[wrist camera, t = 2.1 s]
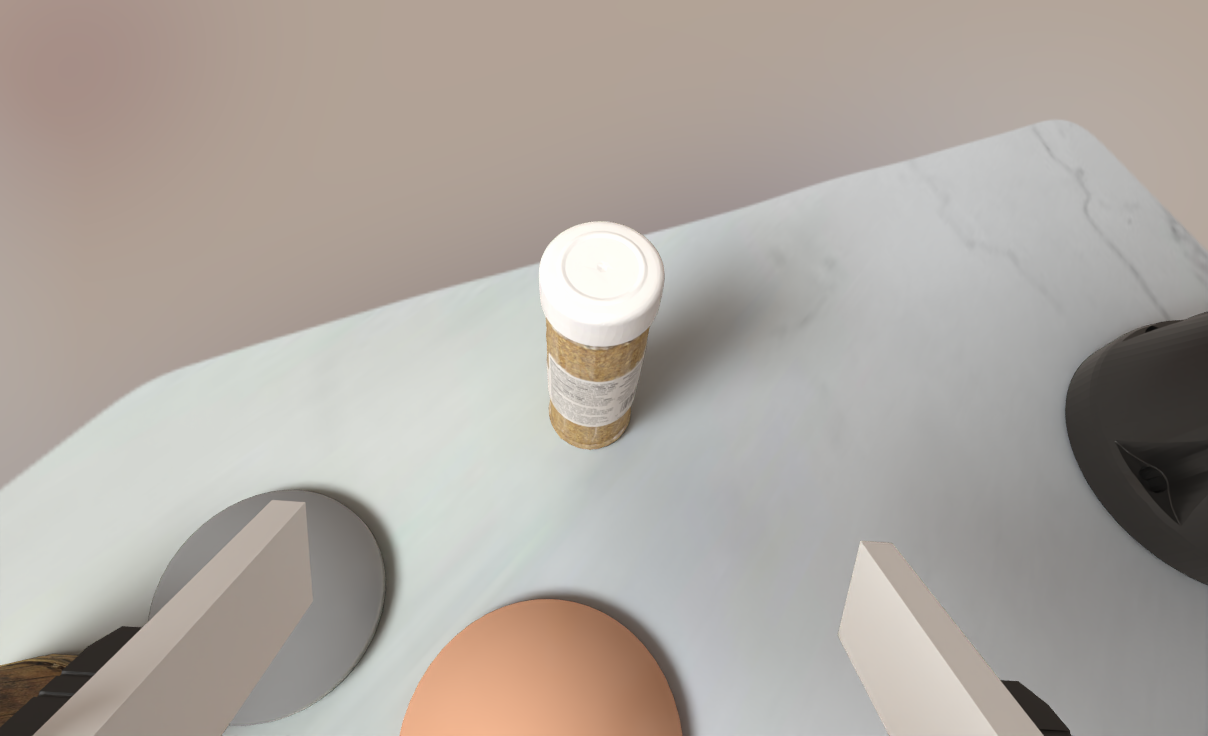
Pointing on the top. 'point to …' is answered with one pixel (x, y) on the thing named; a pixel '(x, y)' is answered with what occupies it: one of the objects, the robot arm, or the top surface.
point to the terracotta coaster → (543, 678)
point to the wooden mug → (27, 680)
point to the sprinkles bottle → (597, 326)
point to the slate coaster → (330, 624)
